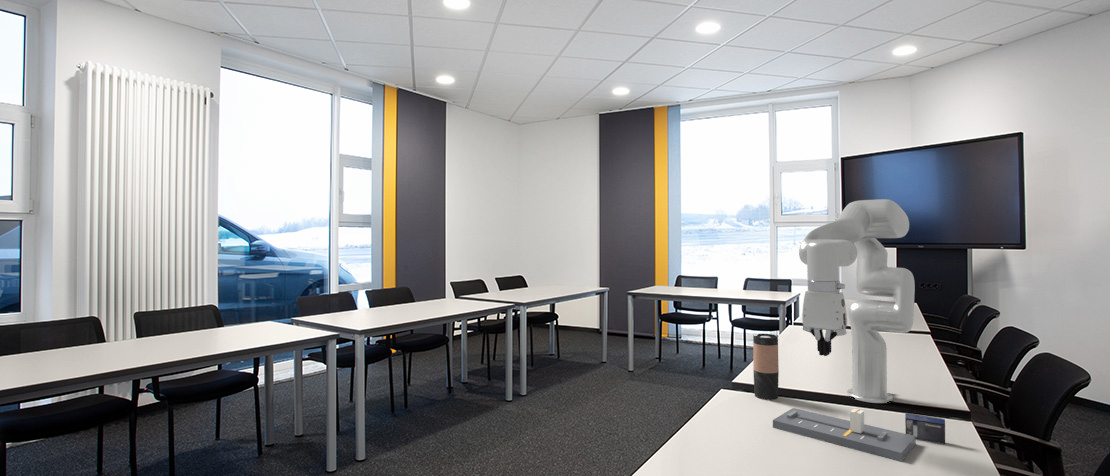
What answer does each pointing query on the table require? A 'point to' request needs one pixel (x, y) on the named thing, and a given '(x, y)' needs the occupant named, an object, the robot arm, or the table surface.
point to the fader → (857, 420)
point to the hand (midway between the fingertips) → (824, 354)
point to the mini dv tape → (925, 427)
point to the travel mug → (765, 366)
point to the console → (846, 433)
